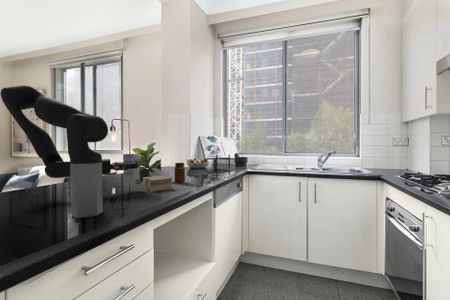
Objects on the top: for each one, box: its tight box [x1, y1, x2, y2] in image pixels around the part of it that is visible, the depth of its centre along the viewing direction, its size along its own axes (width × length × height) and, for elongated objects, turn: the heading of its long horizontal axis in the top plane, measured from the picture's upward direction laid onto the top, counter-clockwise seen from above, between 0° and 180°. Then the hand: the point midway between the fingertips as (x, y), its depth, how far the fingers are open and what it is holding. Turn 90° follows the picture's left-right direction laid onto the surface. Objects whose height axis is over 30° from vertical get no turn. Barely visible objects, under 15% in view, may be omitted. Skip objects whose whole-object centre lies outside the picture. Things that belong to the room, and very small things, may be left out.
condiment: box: [172, 162, 187, 185], centre depth 141 cm, size 7×8×12 cm
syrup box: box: [122, 153, 141, 185], centre depth 118 cm, size 6×6×14 cm
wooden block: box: [142, 175, 173, 193], centre depth 124 cm, size 11×11×6 cm
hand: (136, 165), depth 119 cm, fingers closed on syrup box, 7 cm apart
